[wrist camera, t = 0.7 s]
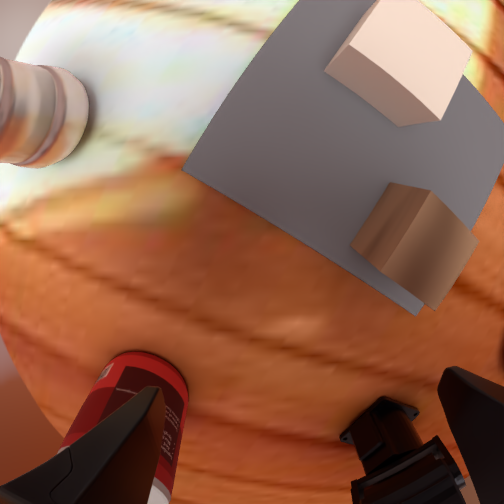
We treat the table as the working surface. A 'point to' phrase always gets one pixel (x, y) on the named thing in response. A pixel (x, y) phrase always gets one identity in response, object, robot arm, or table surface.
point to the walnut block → (416, 242)
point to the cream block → (402, 61)
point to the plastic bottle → (39, 113)
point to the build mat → (338, 144)
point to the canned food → (123, 389)
